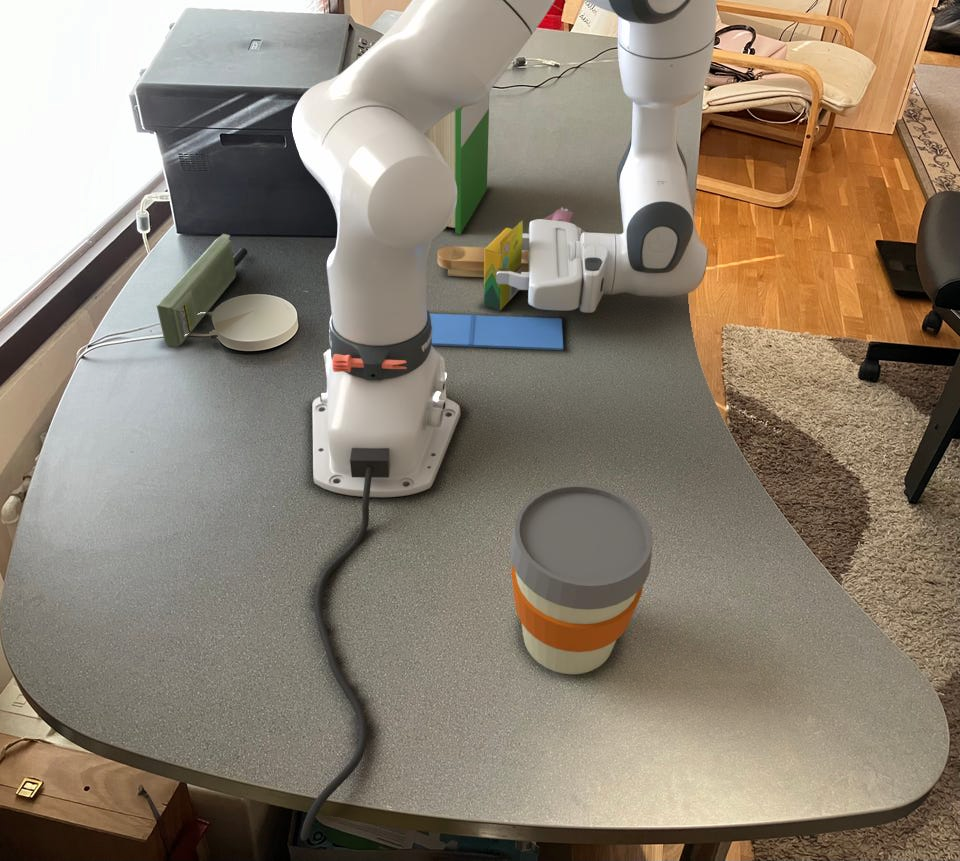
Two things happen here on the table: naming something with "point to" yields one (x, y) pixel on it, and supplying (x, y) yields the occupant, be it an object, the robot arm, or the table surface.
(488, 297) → the crayon box
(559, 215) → the video game controller
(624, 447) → the table surface
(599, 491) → the reusable coffee cup
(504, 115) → the table surface
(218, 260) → the handheld radio
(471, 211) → the hardback book
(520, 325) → the blue cloth
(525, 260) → the scrub brush
